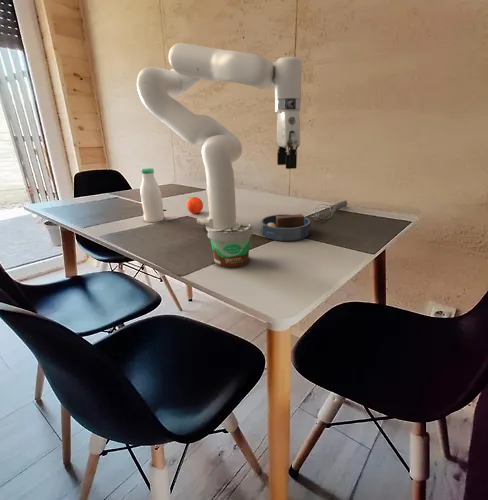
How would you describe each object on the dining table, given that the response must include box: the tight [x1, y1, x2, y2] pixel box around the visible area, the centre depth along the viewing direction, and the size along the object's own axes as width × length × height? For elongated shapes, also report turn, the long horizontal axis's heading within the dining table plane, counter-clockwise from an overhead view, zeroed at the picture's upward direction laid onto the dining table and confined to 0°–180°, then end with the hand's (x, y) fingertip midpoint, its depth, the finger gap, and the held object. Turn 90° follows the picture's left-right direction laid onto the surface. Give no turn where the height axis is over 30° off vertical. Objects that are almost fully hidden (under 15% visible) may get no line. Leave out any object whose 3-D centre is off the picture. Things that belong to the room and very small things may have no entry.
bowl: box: [260, 214, 311, 242], centre depth 105 cm, size 16×16×4 cm
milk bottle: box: [139, 167, 165, 223], centre depth 121 cm, size 8×8×20 cm
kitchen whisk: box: [311, 199, 348, 223], centre depth 127 cm, size 6×34×6 cm, turn 146°
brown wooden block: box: [276, 213, 305, 228], centre depth 105 cm, size 9×3×6 cm, turn 101°
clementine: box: [186, 196, 204, 214], centre depth 132 cm, size 8×7×7 cm
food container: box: [207, 223, 254, 269], centre depth 82 cm, size 12×6×10 cm, turn 114°
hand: (286, 166), depth 98 cm, fingers open, 9 cm apart
